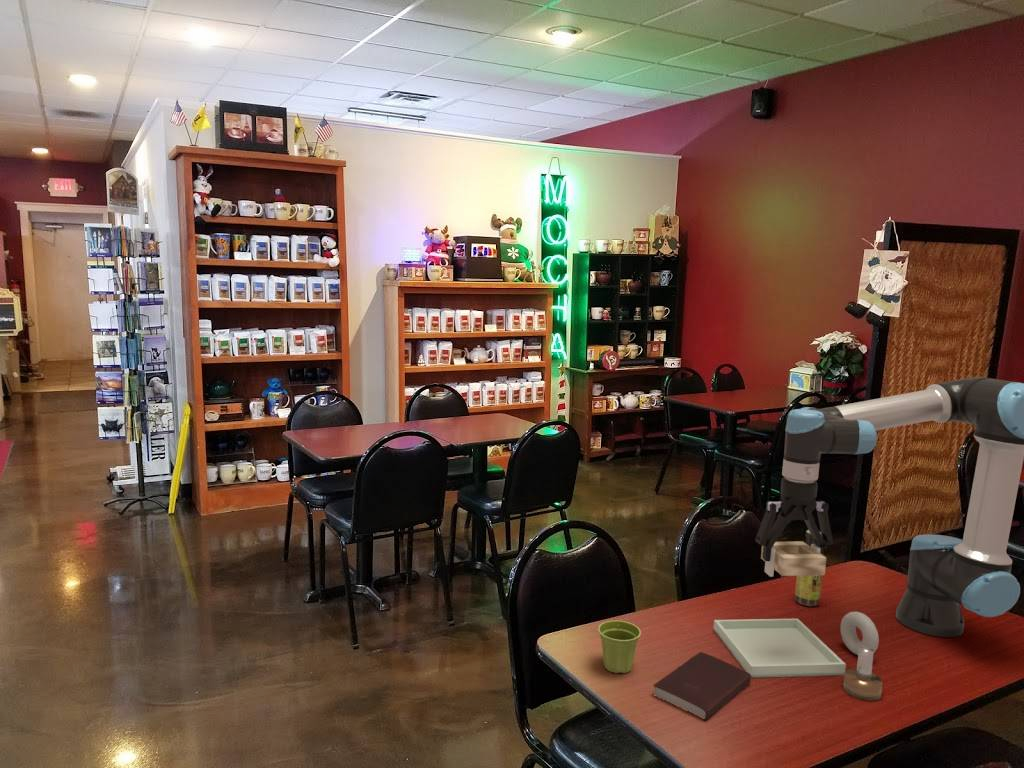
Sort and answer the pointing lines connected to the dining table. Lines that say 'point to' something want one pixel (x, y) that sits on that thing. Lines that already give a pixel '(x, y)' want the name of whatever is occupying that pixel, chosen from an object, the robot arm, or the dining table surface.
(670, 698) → the book
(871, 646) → the donut
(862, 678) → the cylinder
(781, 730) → the dining table surface
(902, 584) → the dining table surface
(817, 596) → the sauce bottle
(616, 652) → the plant pot
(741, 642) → the sage tray
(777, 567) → the wooden square frame
